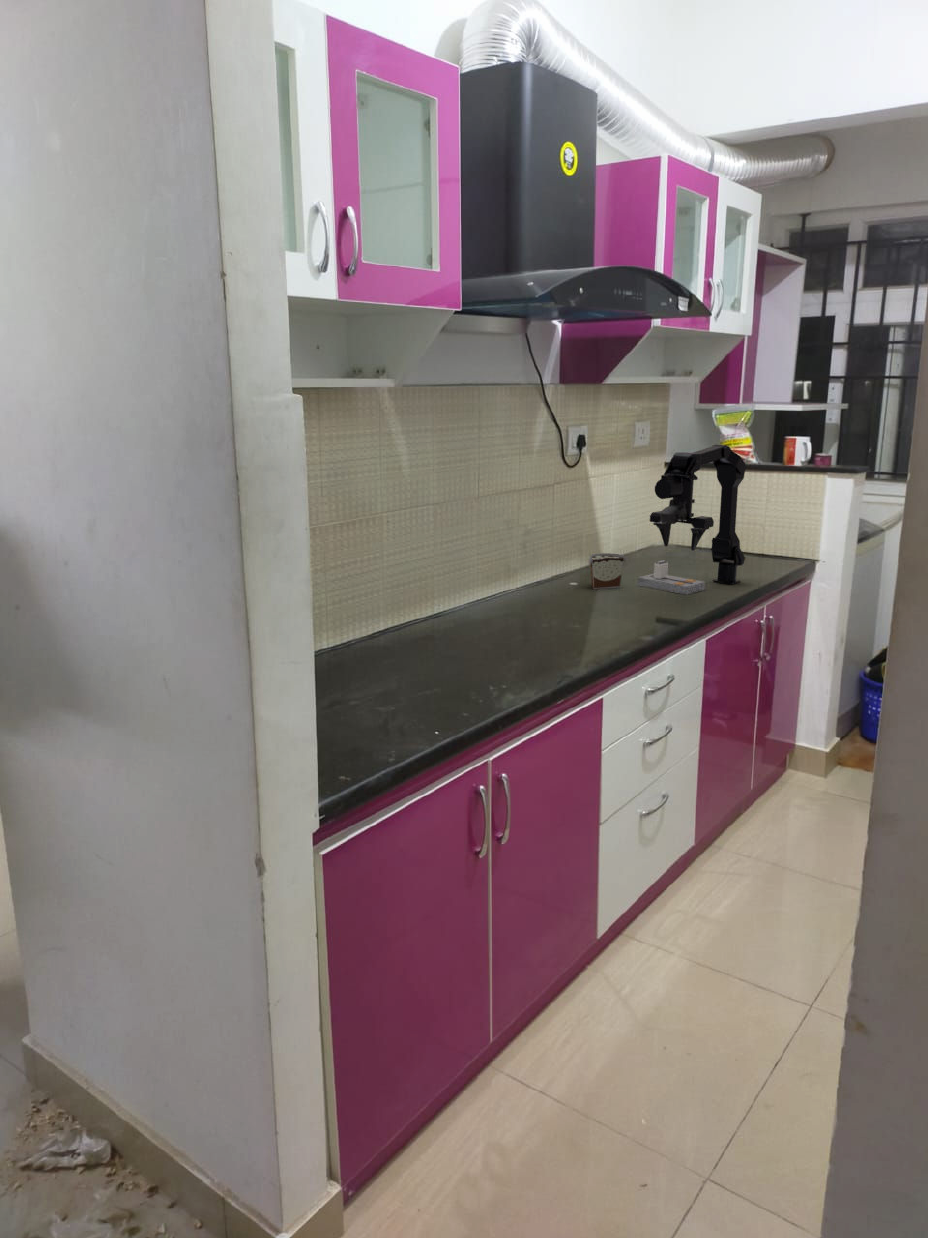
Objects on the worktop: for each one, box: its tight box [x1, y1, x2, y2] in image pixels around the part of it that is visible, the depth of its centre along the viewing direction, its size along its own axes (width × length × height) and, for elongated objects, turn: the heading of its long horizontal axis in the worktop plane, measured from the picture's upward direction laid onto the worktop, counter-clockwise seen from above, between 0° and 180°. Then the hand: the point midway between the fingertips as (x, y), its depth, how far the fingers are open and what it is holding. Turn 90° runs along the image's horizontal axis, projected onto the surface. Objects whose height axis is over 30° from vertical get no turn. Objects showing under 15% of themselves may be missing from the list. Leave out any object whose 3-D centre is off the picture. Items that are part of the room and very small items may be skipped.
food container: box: [588, 552, 627, 590], centre depth 289 cm, size 12×6×10 cm, turn 109°
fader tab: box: [653, 559, 669, 579], centre depth 290 cm, size 4×2×5 cm, turn 135°
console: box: [637, 573, 706, 596], centre depth 288 cm, size 10×18×3 cm, turn 44°
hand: (679, 548), depth 274 cm, fingers open, 9 cm apart
